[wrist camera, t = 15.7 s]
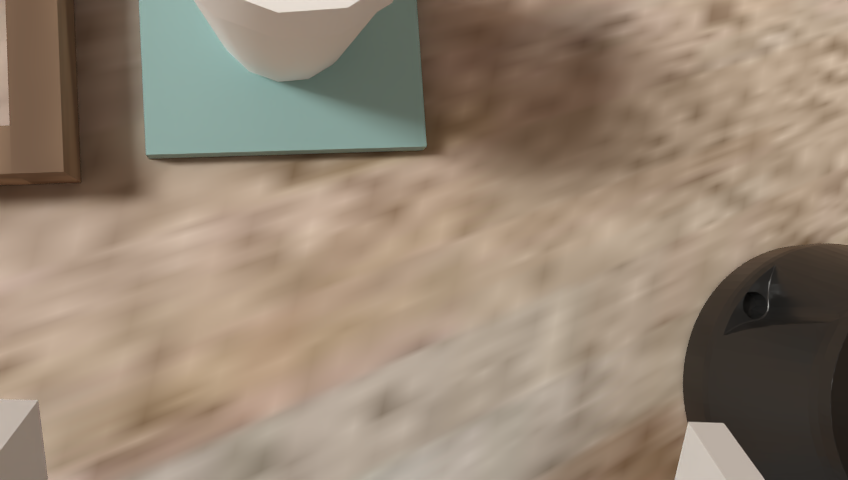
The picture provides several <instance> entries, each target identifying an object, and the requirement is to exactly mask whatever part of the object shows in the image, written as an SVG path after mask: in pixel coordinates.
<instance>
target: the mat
mask: <svg viewBox="0 0 848 480" xmlns="http://www.w3.org/2000/svg"><path fill="white" fill-rule="evenodd" d="M139 15H140V37H141V59H142V81H143V102H144V124H145V146H146V155H147V157H148V158H149V159H155V158H187V157H220V156H253V155H286V154H319V153H352V152H385V151H418V150H424V149H425V148H426V147H427V143H426V129H425V114H424V99H423V85H422V70H421V56H420V41H419V27H418V12H417V0H393V2H392V3H391V4H390V5H388V6H386V7H385V8H383V9H381V10H380V11H378V12H377V13H376V14H375V15H374V16H373V17H372V19H371V20H370V21H369V22H368V23H367V25H366V26H365V27H364V28H363V29H362V31H361V32H360V33H359V34H358V35H357V37H356V38H355V39H354V40H353V42H352V43H351V44H350V45H349V46H348V48H347V49H346V50H345V51H344V52H343V54H342V55H341V56H340V57H339V58H338V60H337V61H336V62H334V64H333V65H331V66H329V67H328V68H326V69H324V70H323V71H321V72H320V73H318V74H316V75H315V76H313V77H311V78H310V79H305V80H294V81H283V82H277V81H275V80H272V79H269V78H266V77H263V76H260V75H258V74H255V73H252V72H249V71H248V70H247V69H246V68H245V67H244V66H243V65H242V64H241V63H240V62H239V61H238V60H237V59H236V58H235V57H233V56H232V55H231V54H230V53H229V52H228V51H227V49H226V48H225V47H224V46H223V44H222V43H221V41H220V40H219V38H218V37H217V35H216V34H215V32H214V30H213V29H212V27H211V26H210V24H209V23H208V21H207V20H206V18H205V17H204V15H203V14H202V12H201V11H200V9H199V8H198V6H197V5H196V3H195V2H194V0H139Z"/></svg>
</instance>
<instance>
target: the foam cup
mask: <svg viewBox="0 0 848 480" xmlns="http://www.w3.org/2000/svg"><path fill="white" fill-rule="evenodd" d="M194 2H195V3H196V5H197V6H198V8H199V9H200V11H201V12H202V14H203V15H204V17H205V18H206V20H207V21H208V23H209V24H210V26H211V27H212V29H213V30H214V32H215V34H216V35H217V37H218V38H219V40H220V41H221V43H222V44H223V46H224V47H225V48H226V49H227V51H228V52H229V53H230V54H231V55H232V56H233V57H235V58H236V59H237V60H238V61H239V62H240V63H241V64H242V65H243V66H244V67H245V68H246V69H247V70H248V71H249V72H252V73H255V74H258V75H260V76H263V77H266V78H269V79H272V80H275V81H277V82H283V81H294V80H305V79H310V78H311V77H313V76H315V75H316V74H318V73H320V72H321V71H323V70H324V69H326V68H328V67H329V66H331V65H333V64H334V62H336V61H337V60H338V58H339V57H340V56H341V55H342V54H343V52H344V51H345V50H346V49H347V48H348V46H349V45H350V44H351V43H352V42H353V40H354V39H355V38H356V37H357V35H358V34H359V33H360V32H361V31H362V29H363V28H364V27H365V26H366V25H367V23H368V22H369V21H370V20H371V19H372V17H373V16H374V15H375V14H376V13H377V12H378V11H380V10H381V9H383V8H385V7H386V6H388V5H390V4H391V3H392V2H393V0H194Z"/></svg>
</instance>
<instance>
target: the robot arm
mask: <svg viewBox="0 0 848 480" xmlns="http://www.w3.org/2000/svg"><path fill="white" fill-rule="evenodd" d="M683 393H684V404H685V411H686V416H687V421H688V425H687V430H686V434H685V438H684V442H683V447H682V451H681V455H680V459H679V463H678V468H677V472H676V476H675V480H848V245H841V244H810V245H800V246H791V247H784V248H779V249H775V250H772V251H769V252H766V253H763V254H761V255H759V256H757V257H755V258H753V259H751V260H749V261H747V262H746V263H744V264H743V265H741V266H740V267H738V268H737V269H736V270H734V271H733V272H732V273H731V274H730V275H729V276H727V277H726V278H725V279H724V280H723V281H722V282H721V284H720V285H719V286H718V287H717V288H716V289H715V291H714V292H713V293H712V295H711V296H710V297H709V299H708V300H707V302H706V303H705V305H704V307H703V308H702V310H701V312H700V314H699V316H698V318H697V320H696V323H695V325H694V328H693V330H692V333H691V336H690V340H689V343H688V347H687V352H686V357H685V363H684V374H683ZM0 480H48V476H47V468H46V460H45V451H44V443H43V435H42V427H41V419H40V411H39V402H38V400H17V399H0Z"/></svg>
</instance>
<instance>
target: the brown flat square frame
mask: <svg viewBox="0 0 848 480" xmlns="http://www.w3.org/2000/svg"><path fill="white" fill-rule="evenodd" d="M6 28H7V57H8V86H9V115H10V126H0V185H24V184H52V183H80V182H81V166H80V141H79V116H78V92H77V67H76V42H75V17H74V0H6Z"/></svg>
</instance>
